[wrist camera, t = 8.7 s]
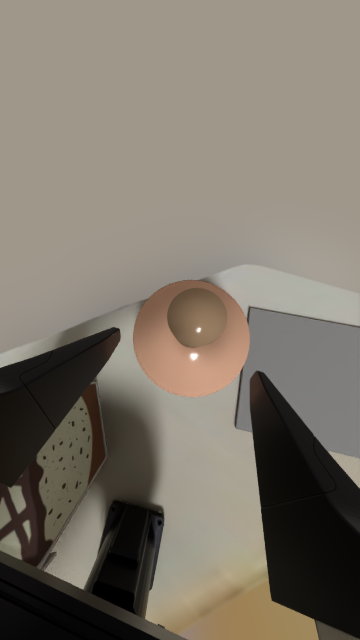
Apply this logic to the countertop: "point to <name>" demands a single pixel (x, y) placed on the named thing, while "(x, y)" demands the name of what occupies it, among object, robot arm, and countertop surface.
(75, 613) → the robot arm
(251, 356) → the mat
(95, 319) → the countertop surface
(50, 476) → the food container
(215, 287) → the lid
